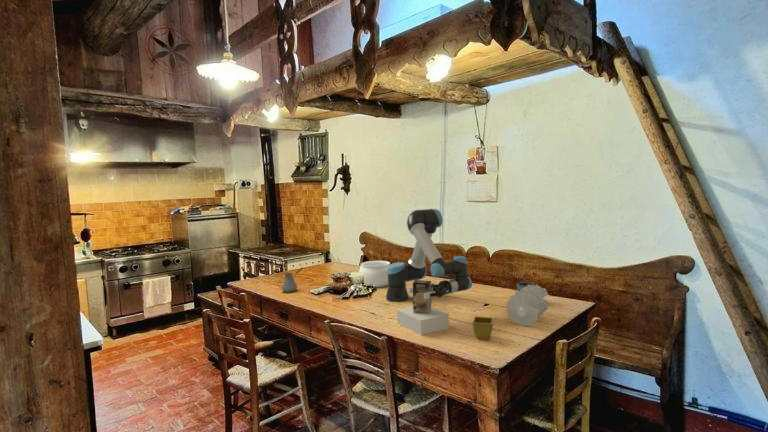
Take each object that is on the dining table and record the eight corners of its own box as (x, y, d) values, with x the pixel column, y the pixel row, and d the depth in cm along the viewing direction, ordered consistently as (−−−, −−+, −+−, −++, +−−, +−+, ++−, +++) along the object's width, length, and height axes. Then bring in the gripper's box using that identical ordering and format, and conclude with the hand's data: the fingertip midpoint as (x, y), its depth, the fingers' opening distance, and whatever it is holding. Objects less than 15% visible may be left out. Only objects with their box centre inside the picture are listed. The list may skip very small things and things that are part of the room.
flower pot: (472, 340, 191) (472, 322, 190) (475, 334, 199) (474, 316, 198) (491, 342, 188) (491, 323, 187) (493, 335, 196) (493, 317, 195)
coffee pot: (289, 293, 289) (288, 273, 288) (278, 292, 295) (277, 272, 294) (309, 287, 307) (308, 267, 306) (298, 285, 313) (297, 266, 312)
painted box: (397, 324, 219) (396, 309, 218) (423, 317, 228) (423, 303, 227) (421, 336, 200) (420, 320, 199) (449, 328, 209) (448, 313, 208)
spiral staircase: (513, 333, 208) (526, 317, 228) (545, 324, 198) (556, 308, 218) (497, 301, 210) (512, 287, 231) (528, 290, 200) (540, 277, 221)
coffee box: (412, 312, 211) (411, 282, 211) (415, 309, 218) (414, 280, 217) (429, 313, 209) (429, 283, 208) (431, 310, 215) (431, 280, 214)
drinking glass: (515, 304, 245) (515, 284, 244) (518, 299, 253) (518, 281, 253) (533, 305, 240) (532, 286, 239) (535, 301, 249) (535, 282, 248)
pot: (401, 283, 309) (401, 262, 308) (378, 290, 289) (378, 268, 288) (373, 278, 328) (373, 258, 327) (350, 285, 309) (349, 264, 307)
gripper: (463, 298, 211) (431, 305, 200) (433, 289, 233) (403, 295, 222) (463, 284, 211) (430, 291, 200) (433, 276, 232) (403, 281, 221)
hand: (416, 293), depth 211 cm, fingers open, 13 cm apart
